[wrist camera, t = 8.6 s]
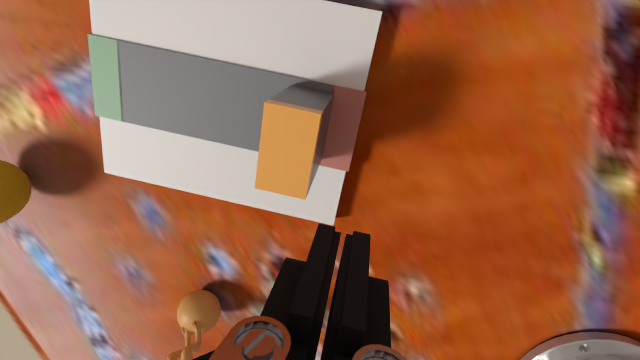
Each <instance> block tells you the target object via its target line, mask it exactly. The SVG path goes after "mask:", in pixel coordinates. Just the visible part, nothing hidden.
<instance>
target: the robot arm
mask: <svg viewBox="0 0 640 360" xmlns="http://www.w3.org/2000/svg"><path fill="white" fill-rule="evenodd" d="M340 235H341V233H340V232H336V231H335V227H334V226H329V225H325V224H320V223H319V225H318V228H317V231H316V234H315V237H314V240H313V243H312V246H311V249H310V252H309V255H308V258H307V261H306V262H305V261H300V260H296V259H292V258H286V259H285V260H284V263H283V265H282V267H281V269H280V272H279V274H278V276H277V279H276V281H275V283H274V285H273V288H272V290H271V292H270V295H269V297H268V299H267V301H266V304H265V306H264V308H263V311H262V313H261V315H260V316H253V317H249V318H245V319H243V320H242V321H240V322H238V323H237V324H236V325H235V326H234V327H233V328H232V329H231V330H230V331H229V333H228V334H227V335H226V337H225V338H224V339H223V341H222V342H221V343H220V345H219V346H218V347H217V349H216V350H214V351H212V352H209V353H207V354H205V355H202V356H200V357H197V358H195V359H192V360H315V357H316V352H317V347H318V343H319V338H320V333H321V328H322V323H323V319H324V314H325V309H326V304H327V299H328V294H329V289H330V284H331V279H332V274H333V270H334V265H335V260H336V255H337V250H338V245H339V240H340ZM369 257H370V234H366V233H361V232H357V231H354V232H353V235H349V234H346V237H345V242H344V247H343V251H342V256H341V260H340V265H339V270H338V274H337V279H336V283H335V288H334V293H333V297H332V302H331V307H330V312H329V317H328V323H327V328H326V334H325V339H324V344H323V350H322V355H321V360H406V358H405V357H403V356H402V355H401V354H400V353H399V352H397V351H395V350H393V349H391V334H390V308H389V284H388V281H387V280H382V279H378V278H374V277H369ZM521 360H640V342H638V341H636V340H633V339H631V338H629V337H626V336H622V335H617V334H613V333H604V332H580V333H574V334H568V335H564V336H560V337H557V338H553V339H551V340H549V341H546V342H544V343H542V344H540V345H538V346H537V347H535V348H534V349H532V350H530V351H529V352H528V353H527V354H526V355H525V356H524V357H523V358H522V359H521Z"/></svg>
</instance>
